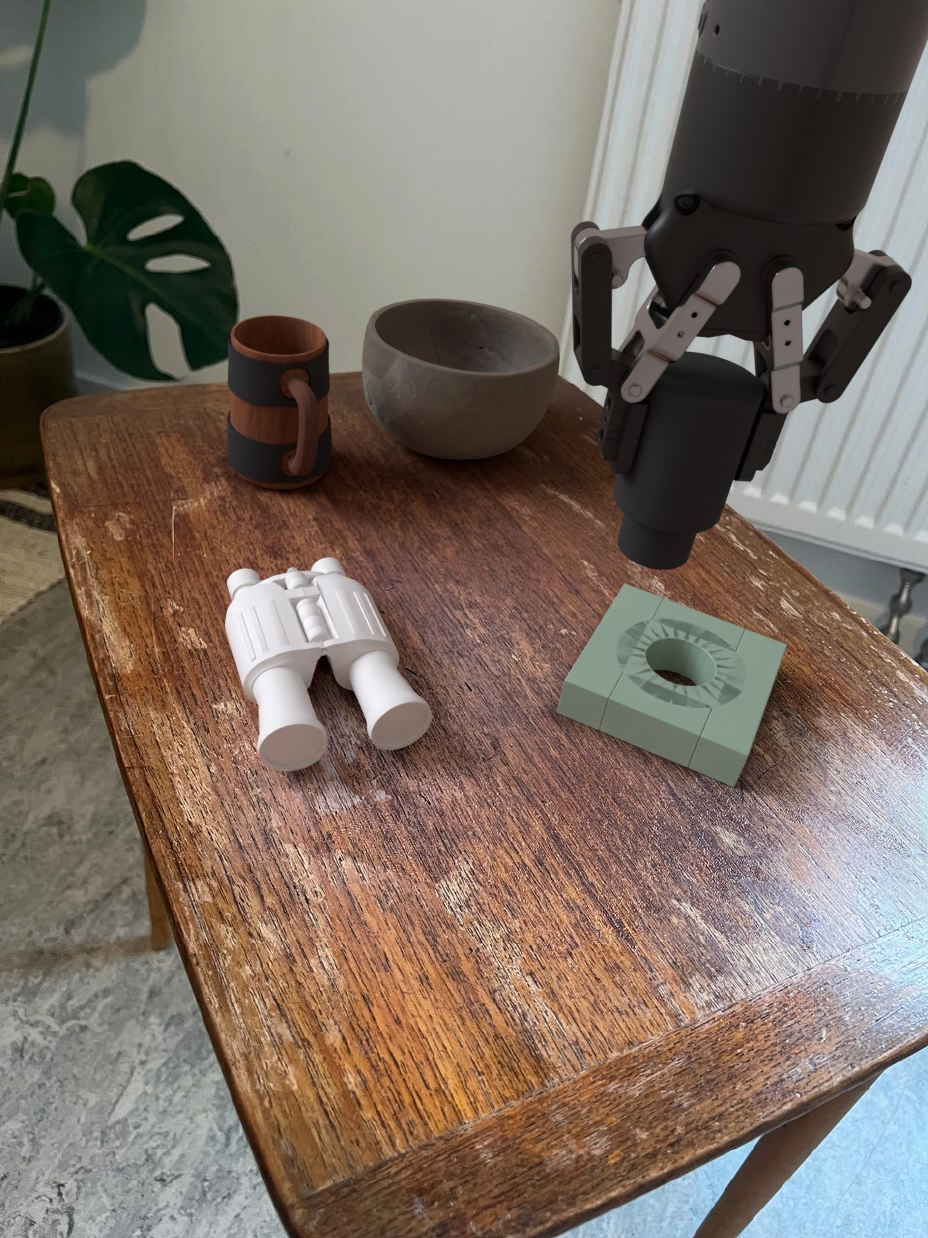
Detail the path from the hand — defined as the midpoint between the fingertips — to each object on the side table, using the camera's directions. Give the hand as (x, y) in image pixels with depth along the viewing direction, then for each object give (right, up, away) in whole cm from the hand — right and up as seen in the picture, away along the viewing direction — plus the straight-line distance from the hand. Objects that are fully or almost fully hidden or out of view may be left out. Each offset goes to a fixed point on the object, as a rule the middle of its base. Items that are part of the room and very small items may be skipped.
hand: (678, 467), depth 45 cm
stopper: (-1, -3, +3) cm, 5 cm away
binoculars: (-20, -11, +18) cm, 29 cm away
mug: (-25, +5, +36) cm, 44 cm away
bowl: (-11, +10, +45) cm, 47 cm away
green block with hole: (+4, -12, +21) cm, 24 cm away
